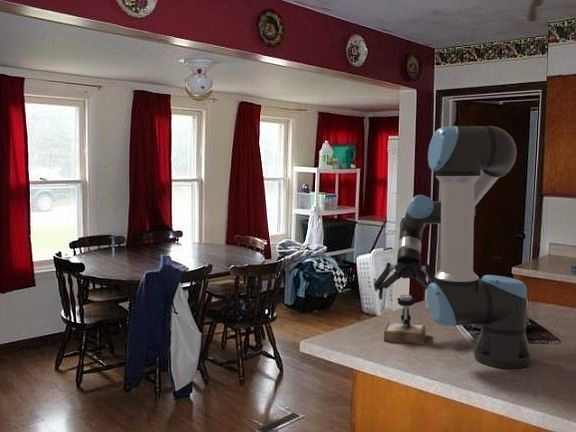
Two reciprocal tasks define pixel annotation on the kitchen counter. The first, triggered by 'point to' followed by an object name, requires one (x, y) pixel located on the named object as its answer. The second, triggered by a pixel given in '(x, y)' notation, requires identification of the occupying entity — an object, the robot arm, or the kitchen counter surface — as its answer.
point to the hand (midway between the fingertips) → (404, 309)
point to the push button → (406, 309)
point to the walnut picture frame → (405, 333)
